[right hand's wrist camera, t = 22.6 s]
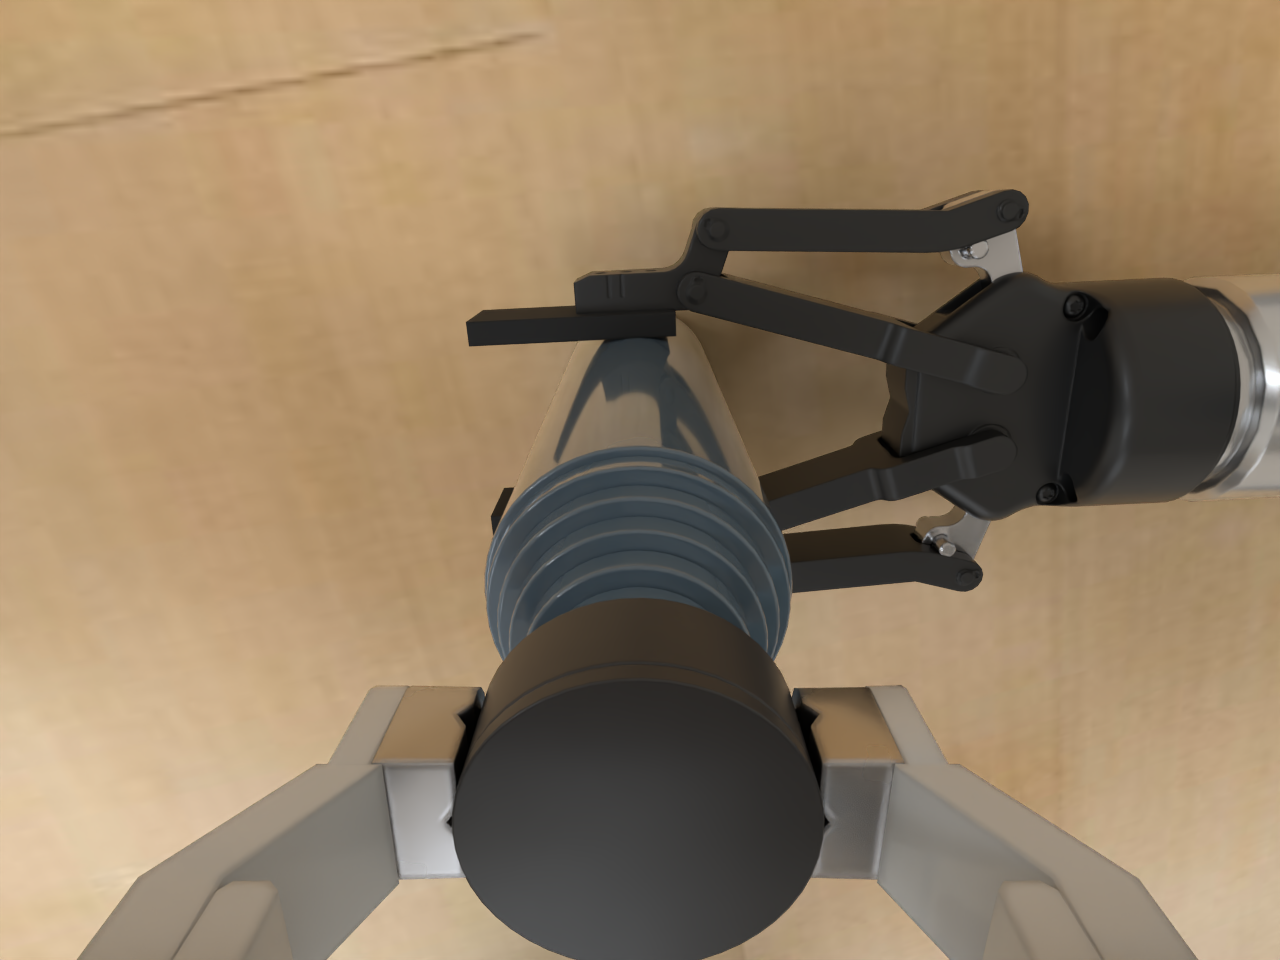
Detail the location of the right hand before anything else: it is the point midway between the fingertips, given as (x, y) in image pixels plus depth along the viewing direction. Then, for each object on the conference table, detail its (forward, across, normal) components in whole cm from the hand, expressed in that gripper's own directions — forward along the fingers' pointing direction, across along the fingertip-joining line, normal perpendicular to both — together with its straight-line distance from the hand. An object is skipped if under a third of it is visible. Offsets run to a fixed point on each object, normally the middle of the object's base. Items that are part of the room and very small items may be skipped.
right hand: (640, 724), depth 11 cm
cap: (-2, 0, 0) cm, 2 cm away
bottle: (+22, 0, 0) cm, 22 cm away
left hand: (+16, -5, 0) cm, 17 cm away
